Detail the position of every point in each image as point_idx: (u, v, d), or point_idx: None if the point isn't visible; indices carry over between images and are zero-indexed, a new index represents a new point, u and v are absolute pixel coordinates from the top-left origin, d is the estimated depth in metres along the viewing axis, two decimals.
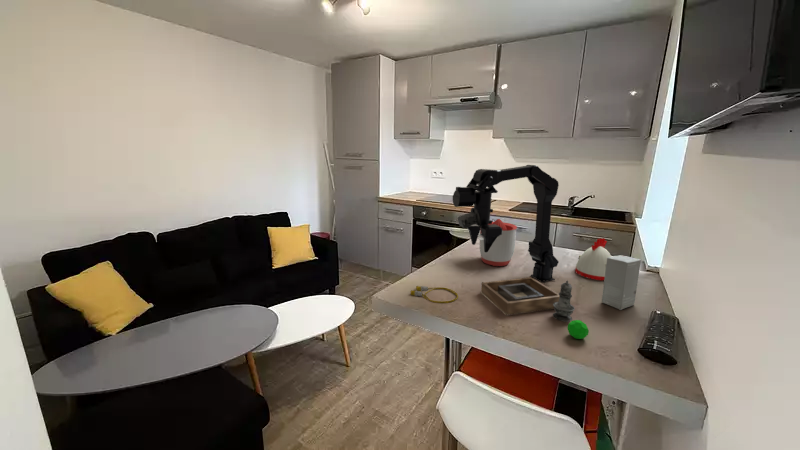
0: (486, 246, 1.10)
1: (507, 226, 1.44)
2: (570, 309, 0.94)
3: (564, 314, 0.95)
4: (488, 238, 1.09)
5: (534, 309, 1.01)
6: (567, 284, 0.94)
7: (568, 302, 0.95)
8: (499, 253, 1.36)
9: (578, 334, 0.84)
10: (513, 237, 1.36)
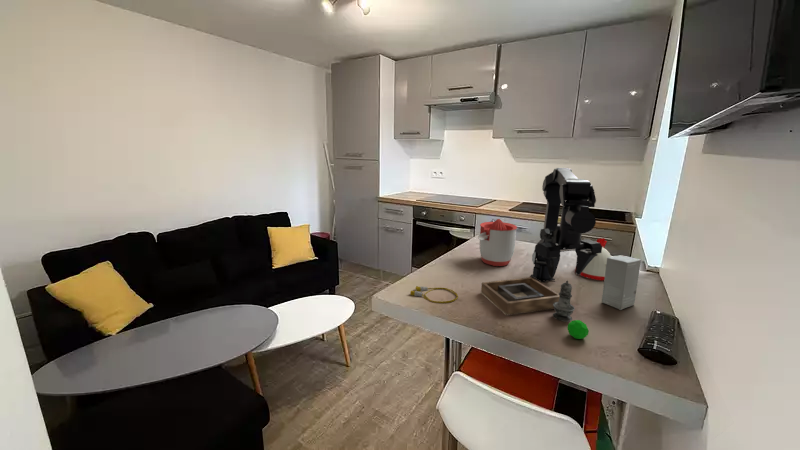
0: (548, 269, 0.93)
1: (507, 226, 1.44)
2: (570, 309, 0.94)
3: (564, 314, 0.95)
4: (549, 260, 0.92)
5: (534, 309, 1.01)
6: (567, 284, 0.94)
7: (568, 302, 0.95)
8: (499, 253, 1.36)
9: (578, 334, 0.84)
10: (513, 237, 1.36)
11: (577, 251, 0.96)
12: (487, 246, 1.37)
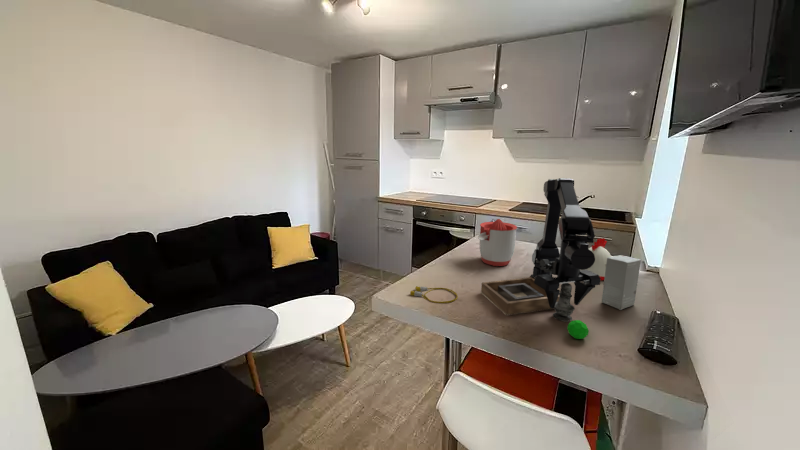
0: (548, 300, 0.95)
1: (507, 226, 1.44)
2: (570, 309, 0.94)
3: (564, 314, 0.95)
4: (549, 291, 0.94)
5: (534, 309, 1.01)
6: (567, 284, 0.94)
7: (568, 302, 0.95)
8: (499, 253, 1.36)
9: (578, 334, 0.84)
10: (513, 237, 1.36)
11: (575, 282, 0.98)
12: (487, 246, 1.37)
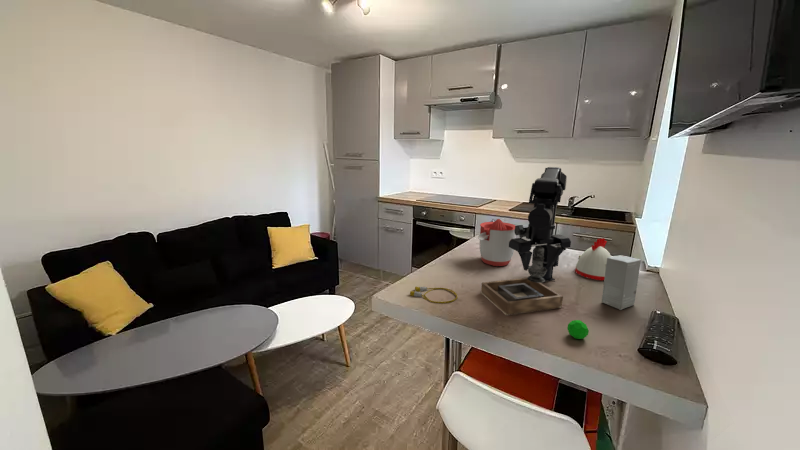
0: (522, 262, 1.00)
1: (507, 226, 1.44)
2: (544, 270, 1.00)
3: (539, 276, 1.00)
4: (523, 254, 0.99)
5: (534, 309, 1.01)
6: (540, 247, 0.99)
7: (541, 264, 1.00)
8: (499, 253, 1.36)
9: (578, 334, 0.84)
10: (513, 237, 1.36)
11: (548, 246, 1.03)
12: (487, 246, 1.37)
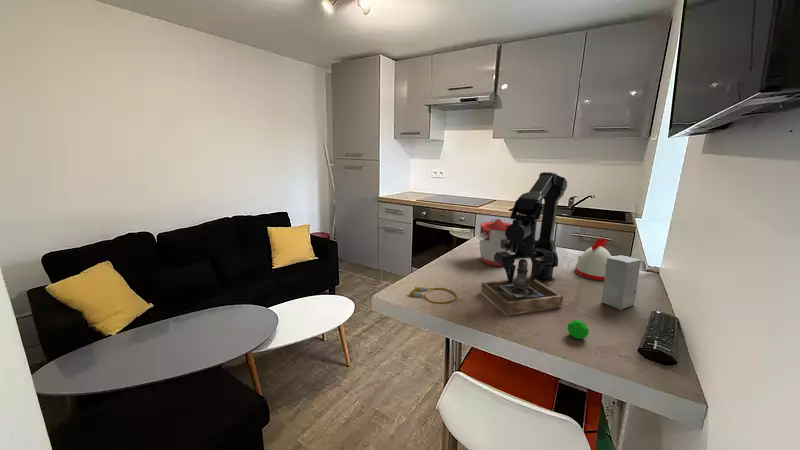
0: (507, 275, 1.05)
1: (507, 226, 1.44)
2: (527, 283, 1.05)
3: (522, 288, 1.05)
4: (508, 267, 1.04)
5: (534, 309, 1.01)
6: (524, 260, 1.04)
7: (525, 277, 1.05)
8: None
9: (578, 334, 0.84)
10: None
11: (532, 259, 1.08)
12: (487, 246, 1.37)
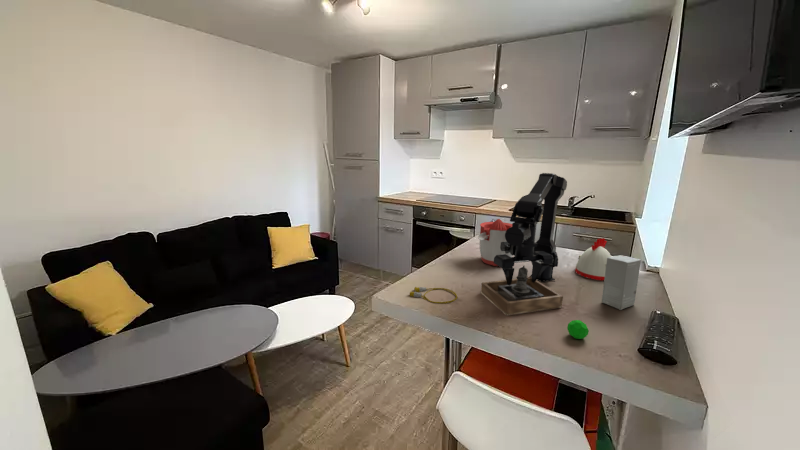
0: (506, 278, 1.05)
1: (507, 226, 1.44)
2: (514, 288, 1.07)
3: None
4: None
5: (534, 309, 1.01)
6: (521, 267, 1.06)
7: (517, 283, 1.07)
8: (499, 253, 1.36)
9: (578, 334, 0.84)
10: None
11: (532, 261, 1.08)
12: (487, 246, 1.37)
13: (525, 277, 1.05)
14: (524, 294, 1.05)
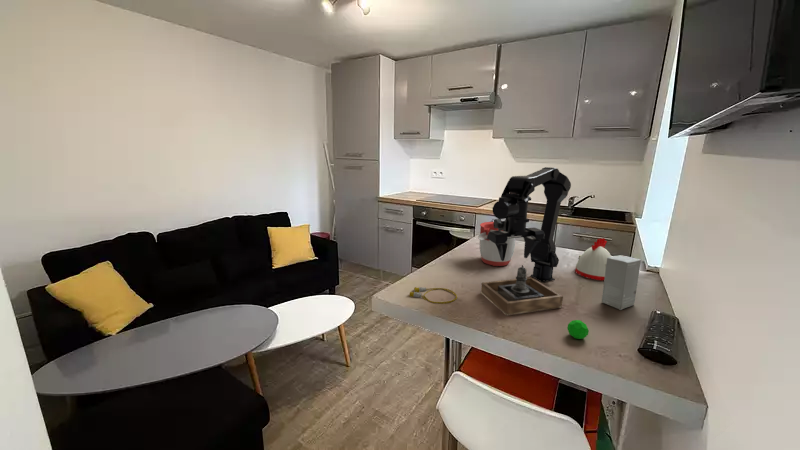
0: (499, 253, 1.09)
1: None
2: (513, 288, 1.07)
3: None
4: (500, 245, 1.07)
5: (534, 309, 1.01)
6: (520, 267, 1.06)
7: (516, 283, 1.07)
8: None
9: (578, 334, 0.84)
10: None
11: (525, 238, 1.12)
12: (487, 246, 1.37)
13: (524, 277, 1.05)
14: (524, 294, 1.05)
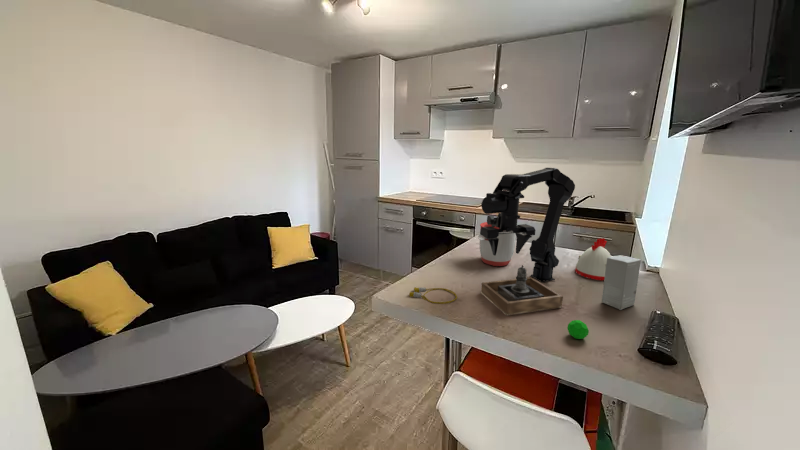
0: (491, 248, 1.13)
1: None
2: (513, 288, 1.07)
3: None
4: (492, 241, 1.12)
5: (534, 309, 1.01)
6: (520, 267, 1.06)
7: (516, 283, 1.07)
8: (499, 253, 1.36)
9: (578, 334, 0.84)
10: (513, 237, 1.36)
11: (517, 234, 1.16)
12: (487, 246, 1.37)
13: (524, 277, 1.05)
14: (524, 294, 1.05)
